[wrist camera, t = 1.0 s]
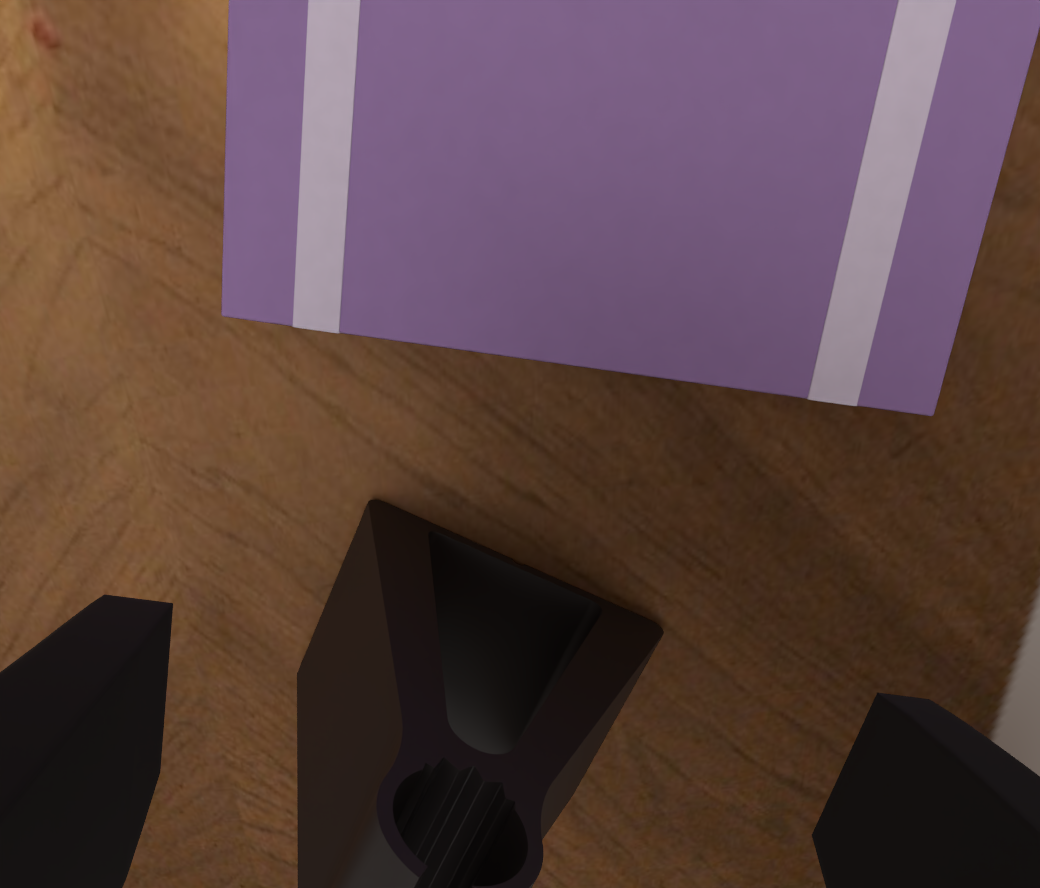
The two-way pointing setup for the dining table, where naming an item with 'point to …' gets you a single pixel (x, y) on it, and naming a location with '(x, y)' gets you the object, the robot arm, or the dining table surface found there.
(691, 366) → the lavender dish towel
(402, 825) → the phone stand
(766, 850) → the dining table surface
